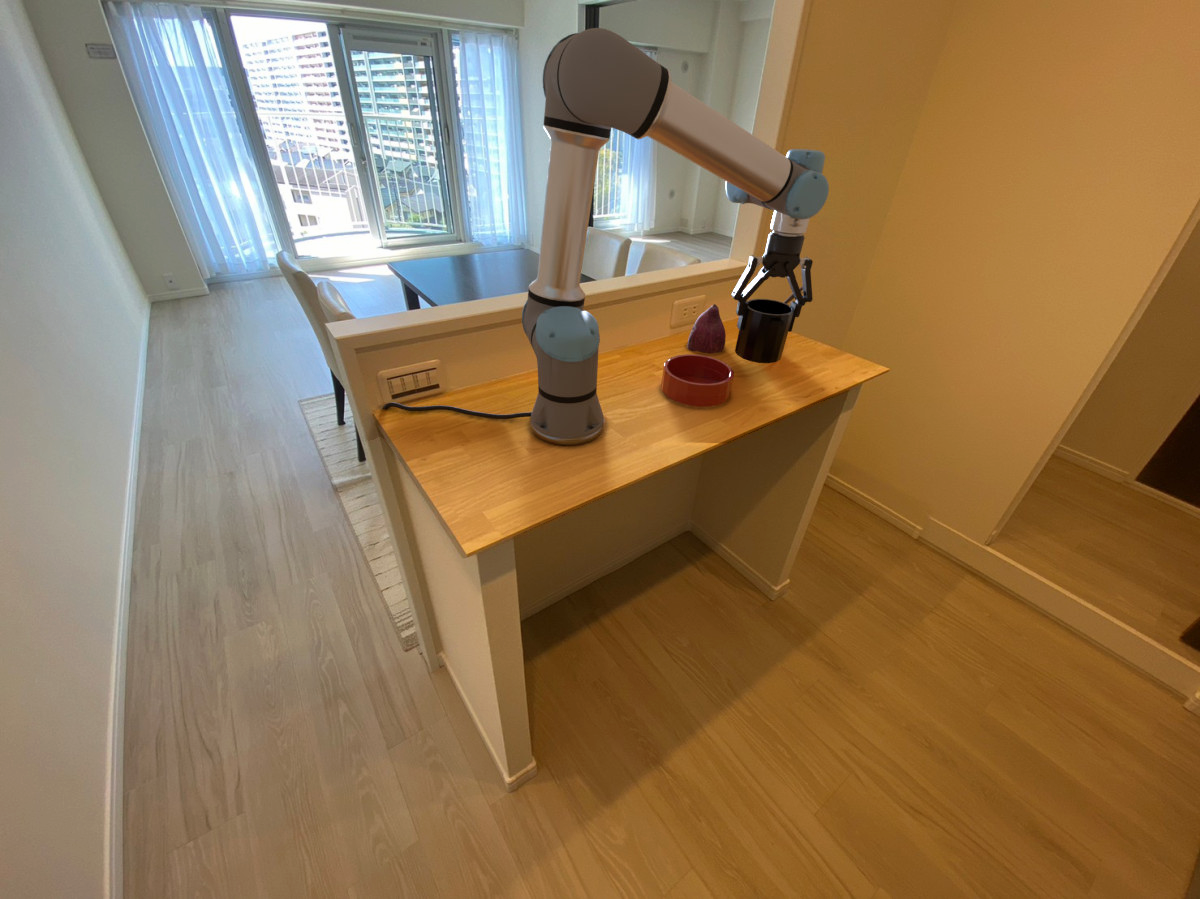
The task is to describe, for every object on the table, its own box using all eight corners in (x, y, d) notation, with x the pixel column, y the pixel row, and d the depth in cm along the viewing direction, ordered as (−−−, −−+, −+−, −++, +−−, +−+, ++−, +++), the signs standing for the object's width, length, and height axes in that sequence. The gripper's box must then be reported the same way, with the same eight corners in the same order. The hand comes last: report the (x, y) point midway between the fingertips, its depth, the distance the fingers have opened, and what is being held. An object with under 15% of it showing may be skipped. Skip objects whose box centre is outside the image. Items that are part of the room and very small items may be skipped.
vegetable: (719, 366, 136) (737, 322, 125) (683, 357, 137) (698, 312, 125) (723, 343, 143) (740, 299, 131) (688, 335, 144) (702, 290, 132)
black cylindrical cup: (743, 365, 117) (754, 317, 110) (728, 341, 129) (738, 295, 122) (789, 366, 117) (803, 318, 110) (770, 342, 129) (782, 297, 122)
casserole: (666, 408, 110) (669, 384, 107) (657, 375, 123) (660, 353, 120) (736, 409, 111) (741, 386, 108) (719, 377, 124) (724, 355, 121)
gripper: (738, 234, 103) (719, 333, 116) (848, 238, 104) (817, 336, 117) (729, 227, 109) (712, 321, 122) (833, 230, 110) (805, 324, 123)
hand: (763, 328), depth 119 cm, fingers closed on black cylindrical cup, 11 cm apart
